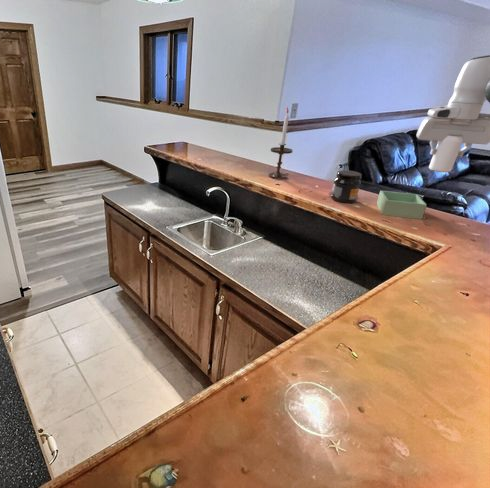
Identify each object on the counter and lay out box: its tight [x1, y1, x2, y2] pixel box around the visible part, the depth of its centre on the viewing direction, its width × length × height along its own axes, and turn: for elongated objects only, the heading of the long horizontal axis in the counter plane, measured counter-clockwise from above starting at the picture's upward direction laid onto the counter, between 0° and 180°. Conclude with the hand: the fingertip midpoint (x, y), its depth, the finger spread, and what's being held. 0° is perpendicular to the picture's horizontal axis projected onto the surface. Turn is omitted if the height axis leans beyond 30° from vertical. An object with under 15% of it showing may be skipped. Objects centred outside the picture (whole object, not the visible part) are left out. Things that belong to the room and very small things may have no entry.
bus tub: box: [375, 190, 428, 220], centre depth 141 cm, size 14×14×6 cm
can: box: [428, 135, 463, 173], centre depth 118 cm, size 6×6×12 cm
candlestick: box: [268, 106, 293, 179], centre depth 179 cm, size 11×11×35 cm
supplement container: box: [330, 169, 362, 204], centre depth 152 cm, size 10×10×12 cm
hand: (445, 155), depth 119 cm, fingers closed on can, 6 cm apart
